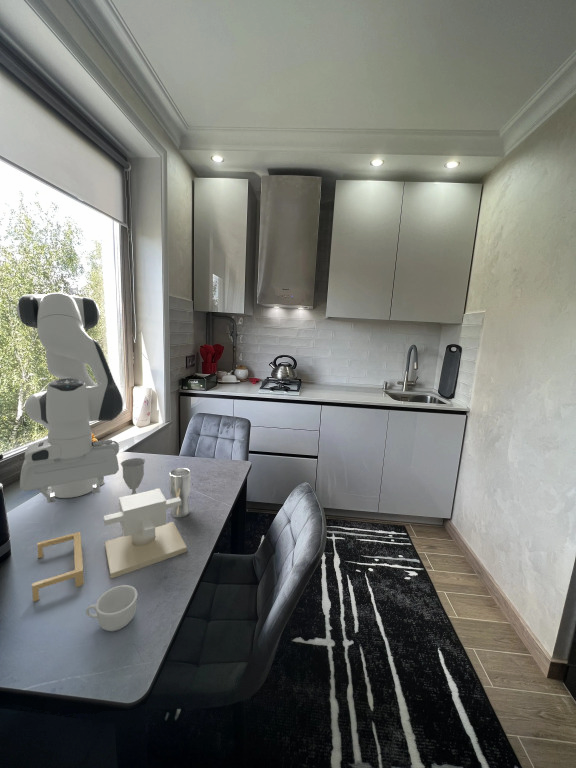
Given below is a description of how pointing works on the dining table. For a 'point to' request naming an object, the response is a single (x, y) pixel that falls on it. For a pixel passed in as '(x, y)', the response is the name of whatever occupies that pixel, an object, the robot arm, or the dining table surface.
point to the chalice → (133, 472)
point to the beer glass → (180, 490)
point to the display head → (142, 533)
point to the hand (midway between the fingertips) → (74, 496)
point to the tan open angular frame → (59, 578)
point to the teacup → (115, 607)
